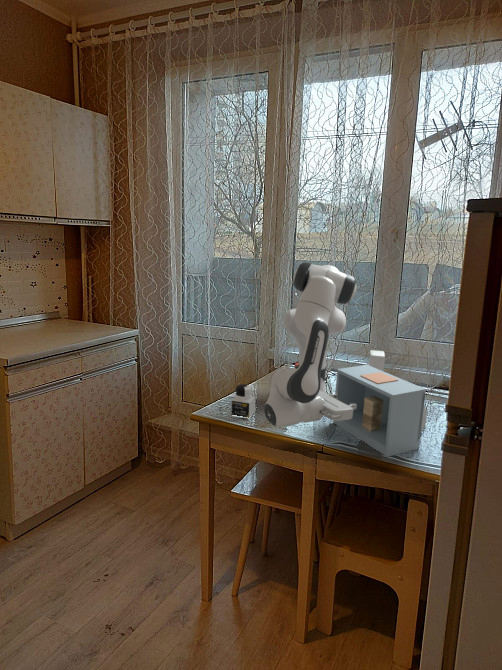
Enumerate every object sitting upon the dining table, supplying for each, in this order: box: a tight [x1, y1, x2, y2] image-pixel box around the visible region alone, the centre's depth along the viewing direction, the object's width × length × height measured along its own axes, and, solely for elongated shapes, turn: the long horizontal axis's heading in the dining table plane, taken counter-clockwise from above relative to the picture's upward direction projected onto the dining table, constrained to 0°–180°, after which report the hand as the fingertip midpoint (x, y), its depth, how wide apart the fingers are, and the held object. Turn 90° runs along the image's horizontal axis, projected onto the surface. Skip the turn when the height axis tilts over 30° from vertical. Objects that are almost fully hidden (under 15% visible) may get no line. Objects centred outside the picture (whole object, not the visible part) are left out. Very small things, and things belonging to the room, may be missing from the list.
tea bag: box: [421, 404, 428, 432], centre depth 175 cm, size 4×7×10 cm, turn 147°
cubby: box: [333, 364, 427, 458], centre depth 167 cm, size 14×29×22 cm, turn 27°
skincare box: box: [368, 349, 386, 372], centre depth 221 cm, size 8×7×16 cm
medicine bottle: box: [231, 383, 256, 418], centre depth 183 cm, size 7×7×12 cm
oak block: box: [362, 396, 383, 432], centre depth 167 cm, size 4×4×11 cm
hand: (346, 401), depth 160 cm, fingers open, 8 cm apart
